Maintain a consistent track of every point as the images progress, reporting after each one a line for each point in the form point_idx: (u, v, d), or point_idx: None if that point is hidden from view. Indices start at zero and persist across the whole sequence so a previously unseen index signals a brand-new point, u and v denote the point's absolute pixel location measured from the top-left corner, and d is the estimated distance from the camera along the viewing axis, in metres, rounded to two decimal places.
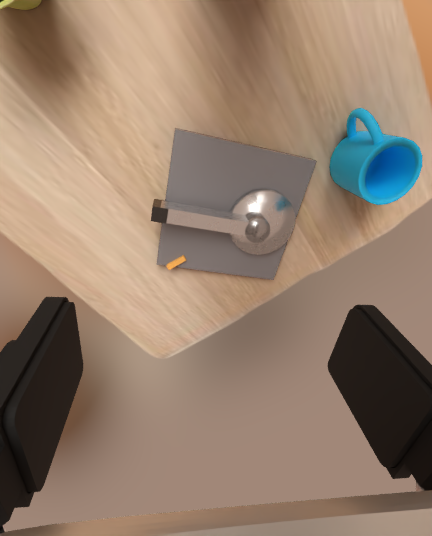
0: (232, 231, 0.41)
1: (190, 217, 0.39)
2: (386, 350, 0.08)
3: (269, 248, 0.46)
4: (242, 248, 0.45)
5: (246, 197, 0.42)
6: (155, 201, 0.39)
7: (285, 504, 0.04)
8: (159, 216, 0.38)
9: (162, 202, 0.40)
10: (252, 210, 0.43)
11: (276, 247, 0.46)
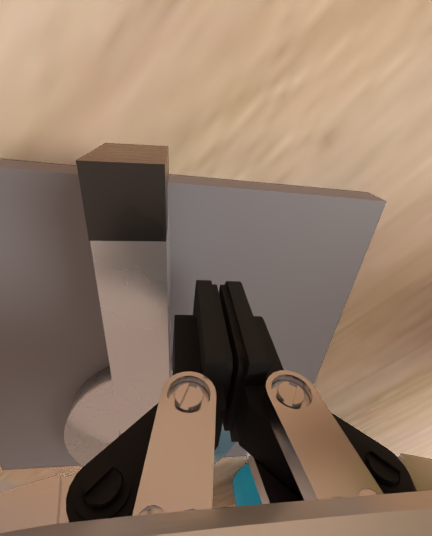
0: None
1: (146, 325, 0.09)
2: (228, 320, 0.09)
3: None
4: (72, 421, 0.16)
5: None
6: (167, 158, 0.09)
7: (285, 504, 0.04)
8: (116, 204, 0.07)
9: None
10: None
11: None
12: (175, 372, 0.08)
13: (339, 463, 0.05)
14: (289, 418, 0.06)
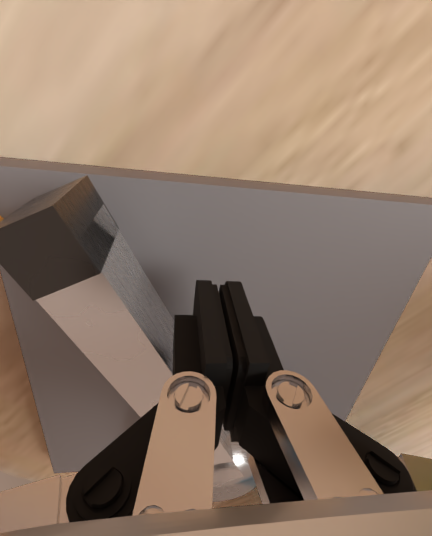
0: None
1: (133, 352, 0.09)
2: (228, 319, 0.09)
3: None
4: None
5: None
6: (82, 189, 0.09)
7: (285, 504, 0.04)
8: (35, 260, 0.07)
9: (100, 216, 0.09)
10: None
11: None
12: (175, 372, 0.08)
13: (339, 463, 0.05)
14: (289, 418, 0.06)
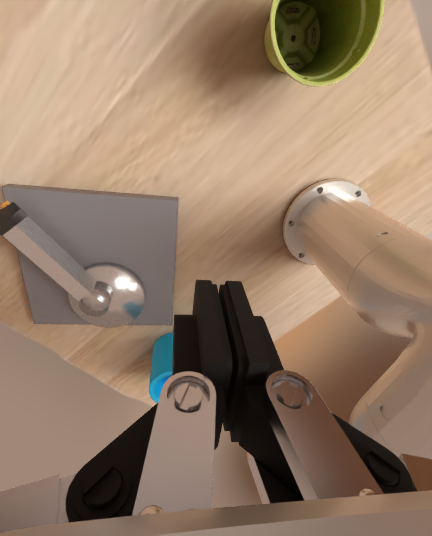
0: (68, 289, 0.36)
1: (34, 249, 0.33)
2: (228, 320, 0.09)
3: (99, 322, 0.42)
4: (73, 305, 0.41)
5: (109, 268, 0.39)
6: (10, 206, 0.32)
7: (285, 504, 0.04)
8: None
9: (18, 212, 0.33)
10: (106, 282, 0.39)
11: (106, 325, 0.43)
12: (175, 372, 0.08)
13: (339, 463, 0.05)
14: (289, 418, 0.06)
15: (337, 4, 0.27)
